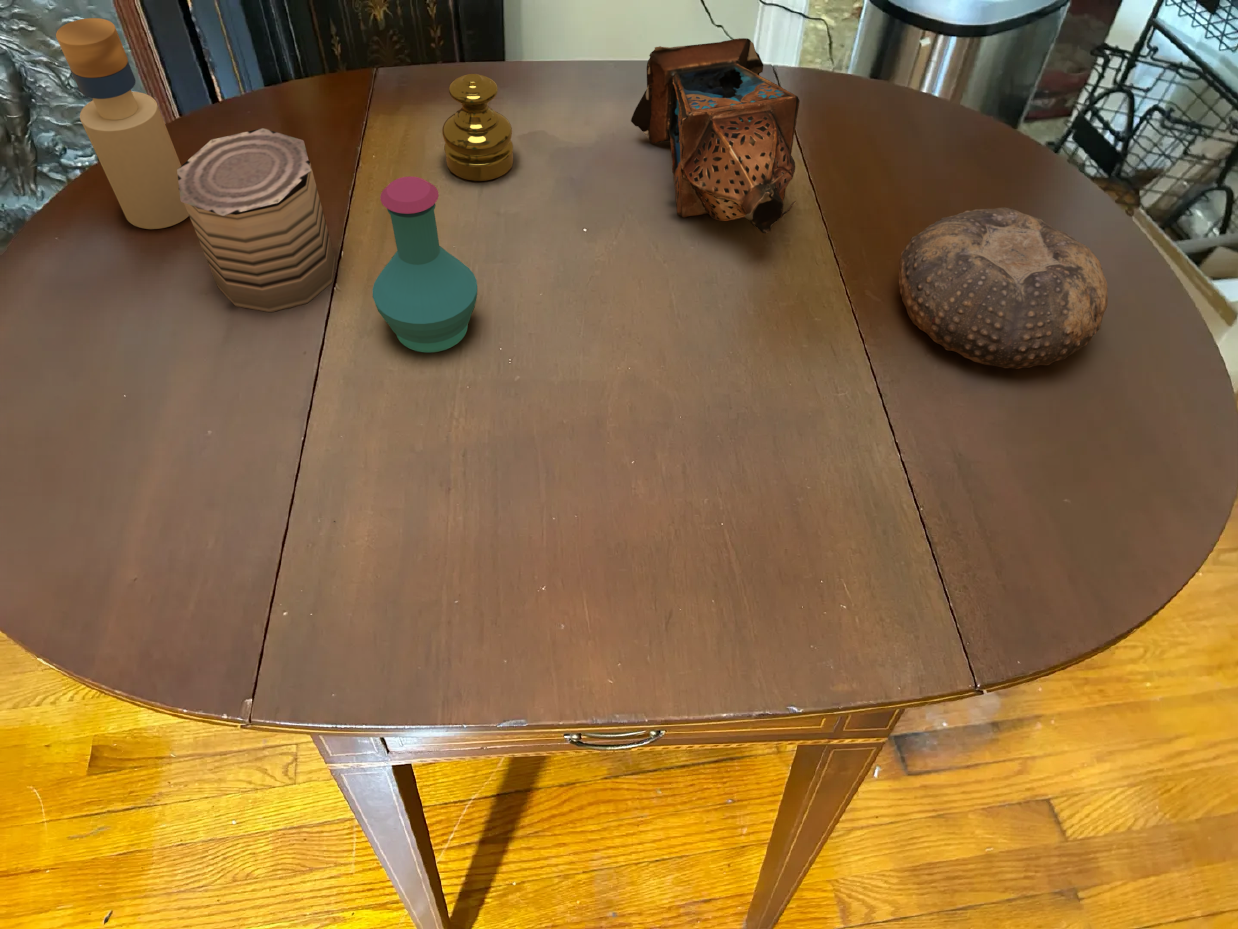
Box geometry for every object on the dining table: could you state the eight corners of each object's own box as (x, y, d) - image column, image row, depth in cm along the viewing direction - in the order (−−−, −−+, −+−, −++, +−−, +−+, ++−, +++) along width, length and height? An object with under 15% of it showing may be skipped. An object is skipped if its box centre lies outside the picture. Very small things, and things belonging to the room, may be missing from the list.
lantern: (676, 181, 111) (748, 309, 95) (592, 93, 99) (658, 221, 84) (784, 86, 105) (880, 205, 89) (708, -19, 94) (802, 96, 78)
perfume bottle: (363, 348, 82) (328, 209, 71) (407, 285, 88) (381, 146, 76) (457, 372, 81) (437, 235, 69) (496, 306, 86) (484, 169, 75)
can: (350, 295, 87) (322, 187, 77) (227, 325, 84) (183, 217, 74) (322, 225, 93) (294, 118, 84) (207, 251, 90) (164, 142, 80)
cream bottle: (155, 237, 91) (90, 92, 79) (111, 212, 93) (41, 67, 81) (209, 204, 94) (155, 60, 82) (165, 181, 97) (106, 37, 84)
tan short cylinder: (93, 83, 79) (79, 50, 77) (59, 66, 81) (43, 33, 79) (139, 61, 82) (126, 28, 80) (105, 45, 84) (91, 12, 81)
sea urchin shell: (1065, 412, 80) (1095, 323, 73) (862, 355, 88) (869, 269, 81) (1118, 292, 90) (1148, 203, 82) (930, 250, 98) (942, 166, 91)
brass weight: (498, 189, 98) (491, 102, 90) (435, 174, 99) (423, 88, 91) (523, 152, 102) (519, 67, 94) (462, 138, 104) (453, 53, 96)
